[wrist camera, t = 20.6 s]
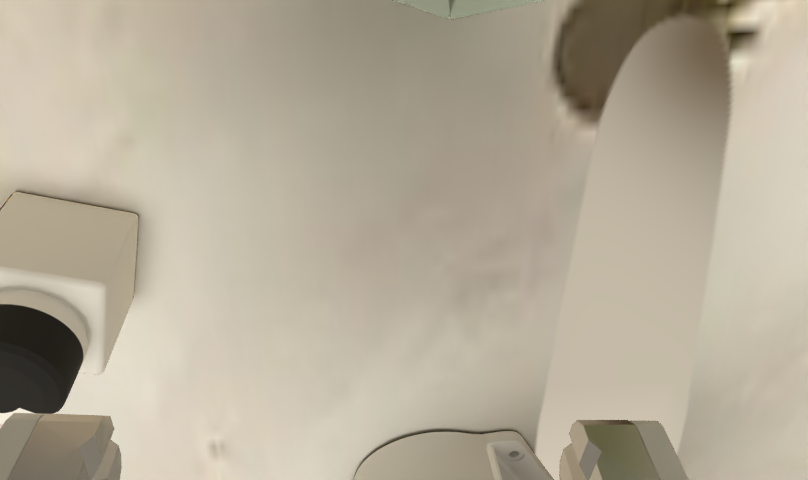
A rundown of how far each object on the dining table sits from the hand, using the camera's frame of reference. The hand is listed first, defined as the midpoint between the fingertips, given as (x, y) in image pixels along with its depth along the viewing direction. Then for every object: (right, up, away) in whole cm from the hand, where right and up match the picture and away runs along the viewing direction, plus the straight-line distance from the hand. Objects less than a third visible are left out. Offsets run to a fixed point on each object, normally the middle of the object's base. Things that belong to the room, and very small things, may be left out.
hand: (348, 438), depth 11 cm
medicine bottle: (-20, +3, +29) cm, 35 cm away
